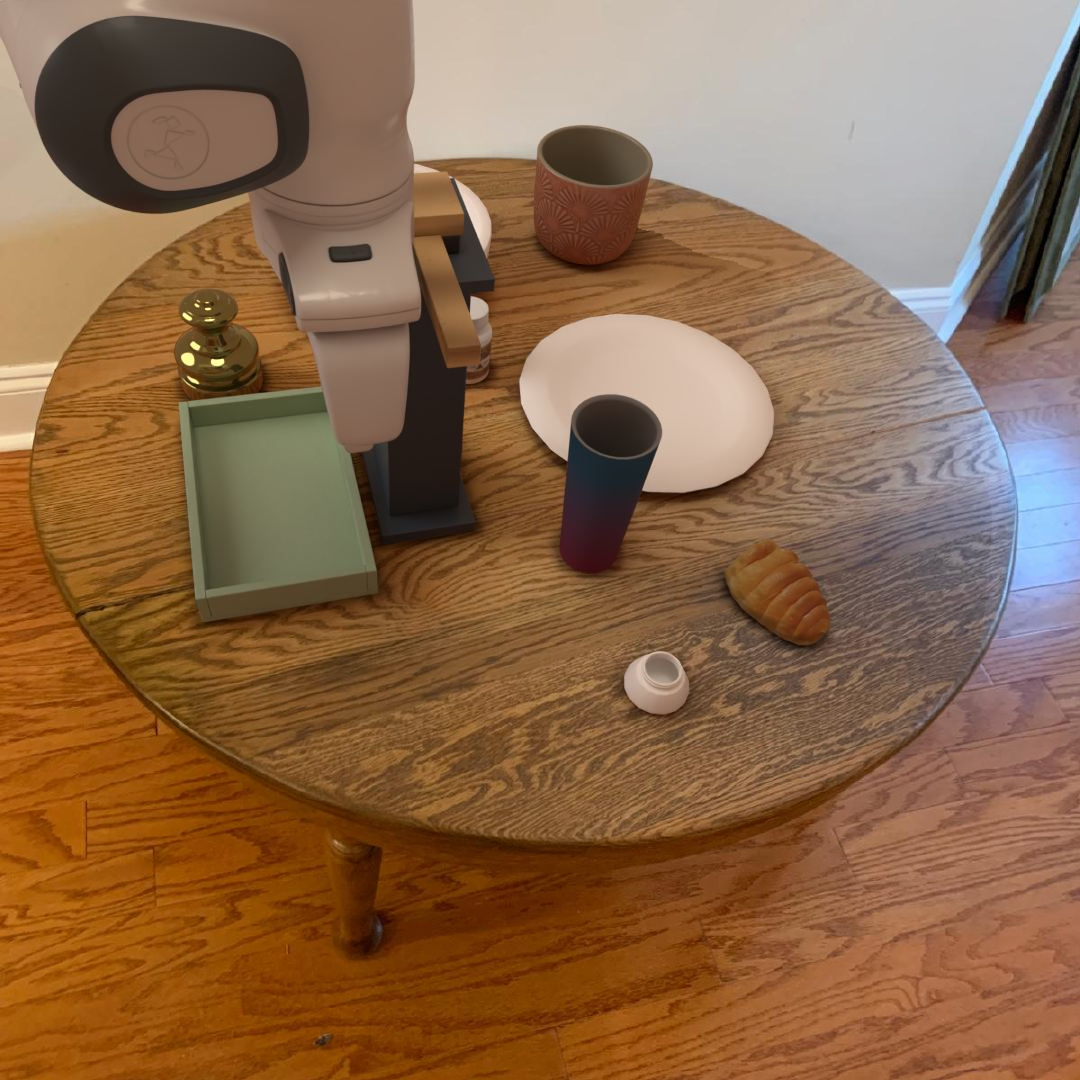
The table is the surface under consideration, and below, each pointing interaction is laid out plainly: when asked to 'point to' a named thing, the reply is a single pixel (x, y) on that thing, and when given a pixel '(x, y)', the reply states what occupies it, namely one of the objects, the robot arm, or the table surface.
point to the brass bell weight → (216, 348)
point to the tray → (271, 505)
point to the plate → (654, 394)
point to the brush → (443, 267)
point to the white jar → (657, 683)
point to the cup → (605, 477)
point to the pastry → (779, 593)
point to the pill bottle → (484, 332)
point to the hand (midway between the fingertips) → (344, 393)
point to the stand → (429, 425)
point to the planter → (589, 192)
